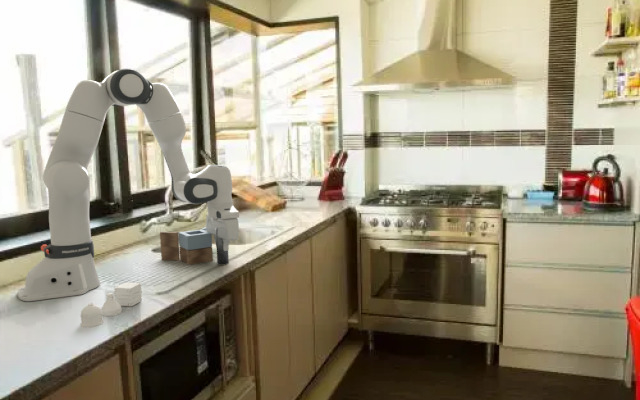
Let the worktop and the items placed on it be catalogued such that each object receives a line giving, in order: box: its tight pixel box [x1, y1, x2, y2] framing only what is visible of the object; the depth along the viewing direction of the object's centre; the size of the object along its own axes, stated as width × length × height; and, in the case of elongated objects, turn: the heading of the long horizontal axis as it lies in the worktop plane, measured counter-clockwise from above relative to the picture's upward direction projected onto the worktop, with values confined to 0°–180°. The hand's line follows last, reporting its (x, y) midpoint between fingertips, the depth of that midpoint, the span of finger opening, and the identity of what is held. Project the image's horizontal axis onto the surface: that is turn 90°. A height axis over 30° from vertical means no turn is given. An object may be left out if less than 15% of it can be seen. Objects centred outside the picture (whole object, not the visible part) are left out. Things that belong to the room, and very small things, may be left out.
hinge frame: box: [159, 231, 214, 266], centre depth 190 cm, size 14×14×10 cm
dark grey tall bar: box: [215, 228, 230, 265], centre depth 184 cm, size 4×4×13 cm
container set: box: [80, 282, 143, 328], centre depth 136 cm, size 20×5×6 cm, turn 165°
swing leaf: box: [178, 226, 213, 250], centre depth 193 cm, size 14×14×10 cm
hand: (222, 249), depth 184 cm, fingers closed on dark grey tall bar, 4 cm apart
